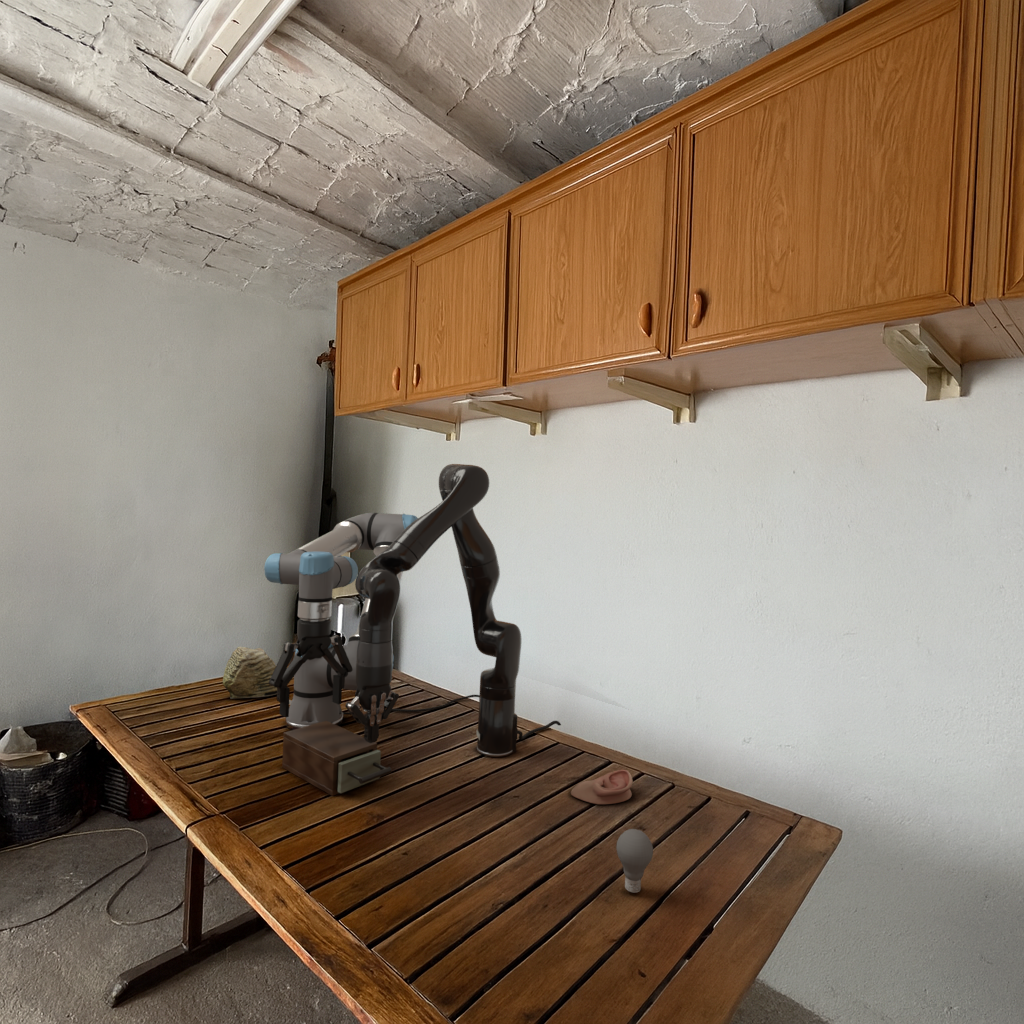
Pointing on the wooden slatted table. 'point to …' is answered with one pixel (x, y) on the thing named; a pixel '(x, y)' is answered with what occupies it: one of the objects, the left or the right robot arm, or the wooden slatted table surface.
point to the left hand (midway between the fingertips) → (311, 709)
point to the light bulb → (634, 857)
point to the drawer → (359, 770)
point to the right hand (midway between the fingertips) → (371, 741)
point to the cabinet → (321, 753)
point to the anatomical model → (605, 788)
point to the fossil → (249, 674)
